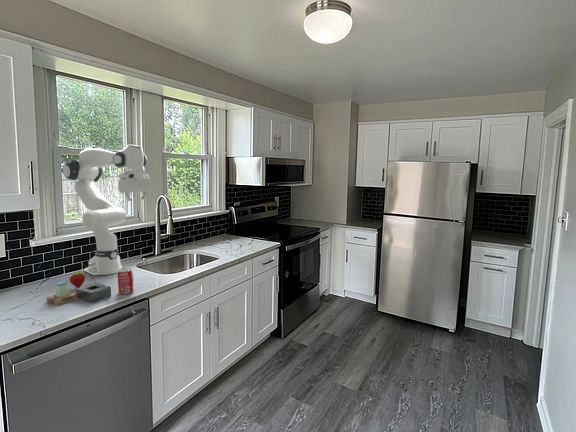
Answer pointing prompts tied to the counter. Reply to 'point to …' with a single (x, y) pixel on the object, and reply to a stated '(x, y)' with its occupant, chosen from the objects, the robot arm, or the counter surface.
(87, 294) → the port block
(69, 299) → the wooden square frame
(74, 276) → the strawberry
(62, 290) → the plug
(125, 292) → the soda can
